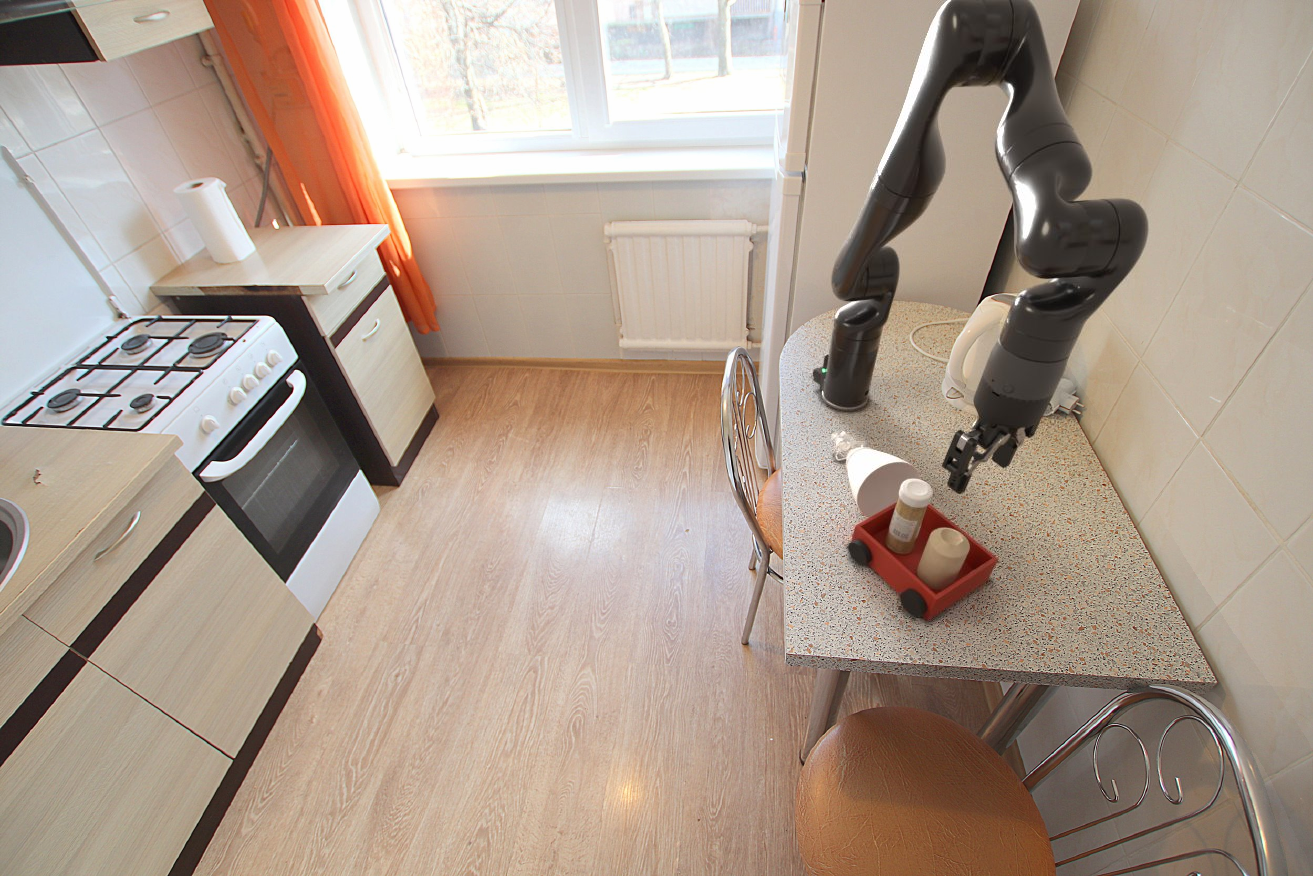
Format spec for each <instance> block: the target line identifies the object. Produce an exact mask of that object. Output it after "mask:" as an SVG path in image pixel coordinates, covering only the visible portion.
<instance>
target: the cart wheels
mask: <svg viewBox="0 0 1313 876" xmlns="http://www.w3.org/2000/svg"><path fill="white" fill-rule="evenodd" d="M847 548H848V553H849V555H850V558H851V559H852V560H853V562H855V563H856V564H858V565H860V566H865V565H868V564H867V563H869V562H870V561H871V559H872V555H871V551H870V549H869V548H868V546H867V545H866V544H865V543H864V542H863V541H861V540H854V541H853V542H851V541H850V542H849V543H848V546H847ZM899 601H900V604H901V606H902V608H903V609H904V610H905V611H906V612H907V613H908V614H909V615H911V616H912V617H915V618H920V617H921V616H922V615H923V614H924V613H926V611H927V605H926V602H925V600H924V599H923V597H922V596H921V595H920V594H919V593H918V592H917V591H915V590H913V589H907V590H905V591H904V592H902V593H901V594H899Z"/></svg>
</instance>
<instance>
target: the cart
mask: <svg viewBox="0 0 1313 876" xmlns="http://www.w3.org/2000/svg"><path fill="white" fill-rule="evenodd" d="M896 504H897V502H896V503H895V504H893V505H891V506H889V507H887V508H886V509H884V510H882V511H880V512H879V513H877V514H875V515H873V516H871V517H870V518H868V517H867V518H866V519H865V520H863V521H861V522H859V523H857V524H855V525H854V529H853V533H852V537H851V541H850V543H851V542H853V541H854V540H861V541H863V542H864V543H865V544H866V545H867V546H868V548H869V549H870V551H871V555H872V559H871V561H870V562H869V563H867V564H866V565H868V567H870V568H871V569H872V570H873V571H874V572H875V573H876V574H878V576H880V577H881V578H882V579H883V580H884V581H885V582H886V584H888V585H889V586H890V587H891V588H892V589H893V590H894V591H895V592H896V593H897V594H899V595H900V594H901V593H902V592H904V591H905V590H907V589H913V590H915V591H917V592H918V593H919V594H920V595H921V596H922V597H923V599H924V600H925V602H926V605H927V611H926V613H924V614H923V615H921V616H922V617H923V618H924V619H925V620H926V622H927V621H929V620H931V619H932V618H934V617H936V616H937V615H938V614H940V613H941V612H943V611H945V610H947V608H949V607H950V606H952V605H953V604H955V603H956V602H958V601H959V600H961V599H962V598H964V597H966V596H967V595H968V594H970V593H971V592H973V591H974V590H976V589H977V588H979V587H980V586H982V585H983V584H985V583H986V582H988V580H989V579H990V577H991V575H992V573H993V571H994V569H995V567H996V565H997V563H998V562H999V560H1000V559H999V557H997V556H996V555H994V553H993V552H991V551H990V550H988V549H987V548H986V547H985V546H983V545H982V544H981V543H980V542H978V541H977V540H976V539H975V538H973V537H971V535H969V534H968V533H967V532H966V531H964V530H963V529H962V528H960V526H958V525H957V524H955V522H953V521H951V520H950V519H949V518H947V516H945V515H944V514H943V513H941V512H940V511H939V510H938V509H936V508H935V507H934V506H933V505H932V504H930V503H929V504H928V506H927V508H926V512H925V514H924V517H923V520H922V524H921V528H920V531H919V533H918V536H917V538H916V541H915V543H914V548H913V550H912V551H911V552H910V553H908V554H898V553H895V552H893V551H891V550H890V549H889V548H888V547H887V545H886V543H885V539H886V536H887V535H888V532H889V527H890V523H891V520H892V517H893V513H894V510H895V507H896ZM938 528H951V529H954V530H956V531H958V532H960V533H961V534H963V535H964V536H965V537H966V538H967V540H968V542H969V544H970V549H969V552H968V554H967V556H966V558H965V560H964V563H963V565H962V567H961V569H960V571H959V573H958V575H957V578H956V580H955V582H954V584H952V585H951V586H949V587H948V588H946V589H945V590H943V591H937V590H933V589H930V588H928V587H927V586H926V585H925V584H924V583H922V582H921V581H920V580H919V578H918V576H917V568H918V565H919V563H920V560H921V557H922V555H923V552H924V550H925V547H926V544H927V542H928V539H929V537H930V534H931V533H932V532H933V531H934V530H935V529H938Z"/></svg>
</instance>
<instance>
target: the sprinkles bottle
mask: <svg viewBox="0 0 1313 876" xmlns="http://www.w3.org/2000/svg"><path fill="white" fill-rule="evenodd" d="M933 494H934V492H933V488H932V486H931V485H930V484H929V483H928V482H926V481H925V480H922V479H921V480H919V479H908V480H906V481H904V482H903V483H902V485H901V487H900V491H899V498H898V501H897V504H896V507H895V510H894V513H893V517H892V520H891V523H890V527H889V532H888V535H887V536H886V539H885V543H886V545H887V547H888V548H889V549H890V550H891V551H893V552H895V553H898V554H908V553H910V552H911V551H912V550H913V548H914V543H915V541H916V538H917V536H918V533H919V531H920V528H921V524H922V520H923V517H924V514H925V512H926V508H927V506H928V504H930V503H931V501H932V499H933Z"/></svg>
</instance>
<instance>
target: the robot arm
mask: <svg viewBox="0 0 1313 876" xmlns="http://www.w3.org/2000/svg"><path fill="white" fill-rule="evenodd" d="M1051 61H1052V60H1051V57H1050V53H1049V49H1048V46H1047V41H1046V38H1045V33H1044V29H1043V25H1042V22H1041V19H1040V16H1039V12H1038V11H1037V9H1036V7H1035V5H1034V3H1033V2H1032V1H1031V0H947V1H945V2H944V4H942V6H941V7H940V9H938V11H937V12H936V15H935V17H934V18H933V20H932V23H931V24H930V27H929V30H928V32H927V35H926V36H925V40H924V42H923V46H922V49H921V53H920V55H919V58H918V61H917V64H916V66H915V70H914V73H913V77H912V80H911V83H910V86H909V89H908V93H907V95H906V99H905V100H904V104H903V107H902V109H901V113H900V115H899V118H898V120H897V123H896V126H895V128H894V131H893V133H892V135H891V137H890V140H889V142H888V145H887V147H886V149H885V151H884V154H883V156H882V158H881V160H880V162H879V164H878V167H877V169H876V172H875V174H874V176H873V179H872V180H871V184H870V187H869V189H868V192H867V195H866V197H865V200H864V202H863V204H862V206H861V209H860V212H859V214H858V216H857V218H856V221H855V223H854V225H853V226H852V228H851V230H850V232H849V233H848V235H847V237H846V239H845V241H844V242H843V244H842V246H841V248H840V250H839V251H838V253H837V255H836V257H835V260H834V262H833V266H832V269H831V275H830V285H831V290H832V293H833V295H834V296H835V297H836V298H837V299H838V300H840V301H842V302H848V303H847V304H845V305H843V306H841V307H840V308H839V309H837V311H836V313H835V315H834V317H833V318H834V319H833V324H832V331H831V338H830V342H829V343H830V344H829V350H828V353H826V354H824V357H823V363H822V366H820V367H816V368H814V369H813V370H812V377H813V381H814V382H815V383H816V384H818V385H819V389H818V392H819V393H820V394H821V399H822V400H823V402H824V403H825V404H826V405H827V406H828V407H830V408H832V409H835V410H838V411H841V412H842V411H843V412H855V411H857V410H861V409H862V408H864V407H865V406H866V405H867V403H868V399H869V394H870V391H871V390H870V389H871V384H872V380H873V375H874V371H875V366H876V361H877V357H878V352H879V349H880V343H881V339H882V335H883V329H884V327H885V325H886V324H887V322H888V320H889V318H890V317H889V316H890V313H891V310H892V306H893V303H894V300H895V296H896V293H897V290H898V289H897V288H898V285H899V280H900V273H901V263H900V259H899V258H900V257H899V255H898V253H897V251H896V250H895V248H893V247H891V246H890V245H887V244H888V243H890V242H891V241H892V240H895V238H897V237H898V236H899V235H900V234H902V233H903V232H905V231H906V230H907V229H908V228H910V227H911V226H913V224H914V223H916V221H918V220H919V219H920V218H921V217H922V216H923V214H924V213H925V212H926V211H927V209H928V207H929V206H930V204H931V202H932V200H933V199H934V197H935V195H936V193H937V191H938V189H939V187H940V186H941V184H942V182H943V180H944V177H945V174H946V167H947V159H946V152H945V147H944V143H943V140H942V135H941V133H940V129H939V121H938V120H939V119H938V118H939V113H940V110H941V107H942V105H943V102H944V100H945V98H946V96H947V95H948V93H949V92H950V91H951V90H952V89H954V88H974V87H975V88H976V87H977V88H978V87H983V88H984V87H991V86H997V87H998V88H999V89H1000V90H1001V91H1002V92H1003V93H1004V95H1005V96H1006V98H1007V99H1008V102H1007V106H1006V107H1005V110H1004V112H1003V114H1002V116H1001V119H1000V122H999V123H998V127H997V129H996V133H995V137H994V155H995V160H996V163H997V166H998V169H999V171H1000V173H1001V176H1002V178H1003V180H1004V182H1005V186H1006V187H1007V189H1008V191H1009V194H1010V196H1011V199H1012V200H1011V201H1012V211H1013V227H1014V234H1013V237H1014V238H1013V239H1014V240H1013V241H1014V243H1013V248H1014V256H1015V259H1016V261H1017V263H1018V265H1019V266H1020V268H1021V269H1022V270H1024V271H1025V272H1026V274H1028V275H1030V276H1032V277H1034V278H1036V279H1042V280H1048V281H1046V282H1043V283H1039V284H1035V285H1032V286H1030V287H1027V288H1025V289H1023V290H1021V291H1020V292H1018V294H1016V296H1015V298H1014V299H1013V300H1012V303H1011V305H1010V307H1009V310H1008V312H1007V315H1006V318H1005V320H1004V323H1003V326H1002V328H1001V331H1000V334H999V336H998V338H997V341H996V342H995V344H994V346H993V347H992V349H991V351H990V353H989V356H988V358H987V360H986V363H985V366H984V369H983V372H982V373H981V374H982V375H981V376H980V379H979V382H978V385H977V386H976V387H977V388H976V389H975V393H974V395H973V406H974V408H975V411H976V413H977V416H978V418H977V419H976V420H975V422H974V423H972V426H971V429H970V431H967V432H965V431H964V430H962V429H958V430H957V431H955V433H954V434H953V437H952V439H951V441H950V444H949V447H948V450H947V452H946V454H945V457H944V459H943V461H942V463H941V468H943V469H944V470H946V471H947V472H949V473H950V474H949V477H948V479H947V482H946V485H947V487H948V488H949V489H950V490H952V491H953V492H955V493H956V494H957V495H962V494H963V493H965V492H966V490H967V487H968V485H969V483H970V480H971V477H972V476H973V473H974V472H975V470H976V469H977V468H978V467H979V465H980V464H981V463H987V462H988V461H989V459H990V458H991V460H992V462H994V463H995V464H996V465H998V466H1000V467H1001V468H1003V469H1006V468H1007V467H1008V466H1011V463H1012V461H1013V459H1014V457H1015V455H1016V453H1017V450H1018V448H1020V447H1022V446H1023V445H1024V442H1025V438H1028V439H1031V438H1032V437H1034V436H1035V434H1036V431H1037V429H1038V428H1039V425H1040V422H1041V420H1042V419H1043V417H1044V415H1045V413H1046V411H1047V409H1048V407H1049V405H1050V403H1051V401H1052V399H1053V396H1054V395H1055V392H1056V390H1057V388H1058V386H1059V385H1060V382H1061V380H1062V378H1063V376H1064V374H1065V371H1066V368H1067V365H1068V361H1069V358H1070V356H1071V354H1072V351H1073V350H1074V348H1075V346H1076V344H1077V341H1078V339H1079V337H1080V335H1081V333H1082V330H1083V328H1084V326H1085V324H1086V322H1087V321H1088V320H1089V319H1090V318H1091V317H1092V315H1094V313H1096V312H1097V311H1098V310H1099V308H1101V306H1102V305H1103V304H1104V303H1105V302H1106V300H1107V299H1108V298H1109V297H1110V295H1112V293H1113V292H1115V290H1116V289H1117V288H1118V287H1119V285H1121V283H1123V281H1124V280H1125V279H1126V278H1127V277H1128V275H1129V274H1130V273H1131V272H1132V270H1133V269H1134V268H1135V266H1136V264H1137V263H1138V262H1139V260H1140V259H1141V256H1142V254H1143V253H1144V250H1145V247H1146V245H1147V242H1148V238H1149V230H1150V229H1149V218H1148V216H1147V212H1146V211H1145V209H1144V208H1143V207H1142V205H1140V204H1139V203H1138V202H1137V201H1136V200H1135V201H1134V200H1132V199H1130V198H1124V197H1123V198H1122V197H1111V198H1110V197H1109V198H1099V199H1098V198H1097V199H1085V200H1084V199H1083V200H1077V199H1078V198H1080V197H1081V196H1082V195H1083V194H1084V192H1085V191H1086V190H1087V189H1088V188H1089V186H1090V184H1091V181H1092V179H1093V171H1094V170H1093V166H1092V162H1091V159H1090V157H1089V155H1088V153H1087V151H1086V149H1085V148H1084V145H1083V144H1082V142H1081V140H1080V138H1079V136H1078V135H1077V132H1076V131H1075V129H1074V127H1073V125H1072V124H1071V122H1070V120H1069V118H1068V116H1067V114H1066V112H1065V110H1064V107H1063V105H1062V102H1061V99H1060V96H1059V93H1058V89H1057V84H1056V80H1055V76H1054V72H1053V66H1052V62H1051ZM979 447H980V448H981V449H983V450H984V452H983V453H981V452H979V451H978V448H979ZM972 458H973V460H972ZM971 460H972V461H971Z"/></svg>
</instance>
